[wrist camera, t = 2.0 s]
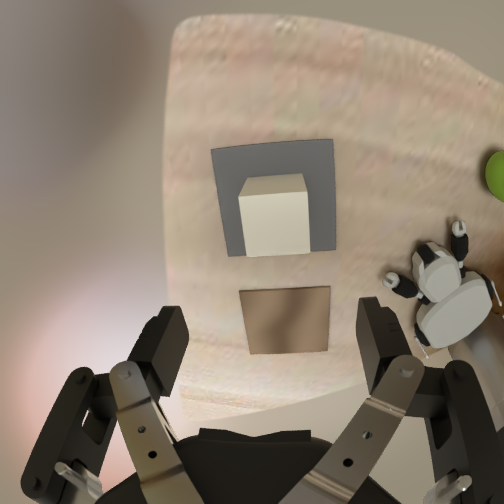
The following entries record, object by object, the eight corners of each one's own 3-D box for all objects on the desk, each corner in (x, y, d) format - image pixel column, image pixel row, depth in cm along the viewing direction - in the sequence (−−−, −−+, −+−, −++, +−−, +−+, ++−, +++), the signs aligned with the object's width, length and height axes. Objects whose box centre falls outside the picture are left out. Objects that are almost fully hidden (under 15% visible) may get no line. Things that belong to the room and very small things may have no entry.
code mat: (332, 139, 25) (332, 139, 24) (335, 248, 30) (335, 250, 29) (211, 149, 26) (210, 149, 26) (228, 255, 31) (228, 256, 31)
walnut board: (330, 285, 32) (330, 287, 31) (327, 349, 36) (327, 350, 36) (239, 290, 33) (239, 292, 33) (250, 352, 38) (250, 354, 37)
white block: (302, 173, 26) (307, 191, 21) (305, 224, 28) (310, 253, 23) (247, 177, 27) (238, 196, 21) (253, 227, 29) (246, 257, 24)
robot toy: (369, 268, 31) (420, 343, 35) (378, 289, 27) (430, 365, 31) (453, 204, 27) (490, 292, 30) (472, 217, 23) (505, 311, 26)
